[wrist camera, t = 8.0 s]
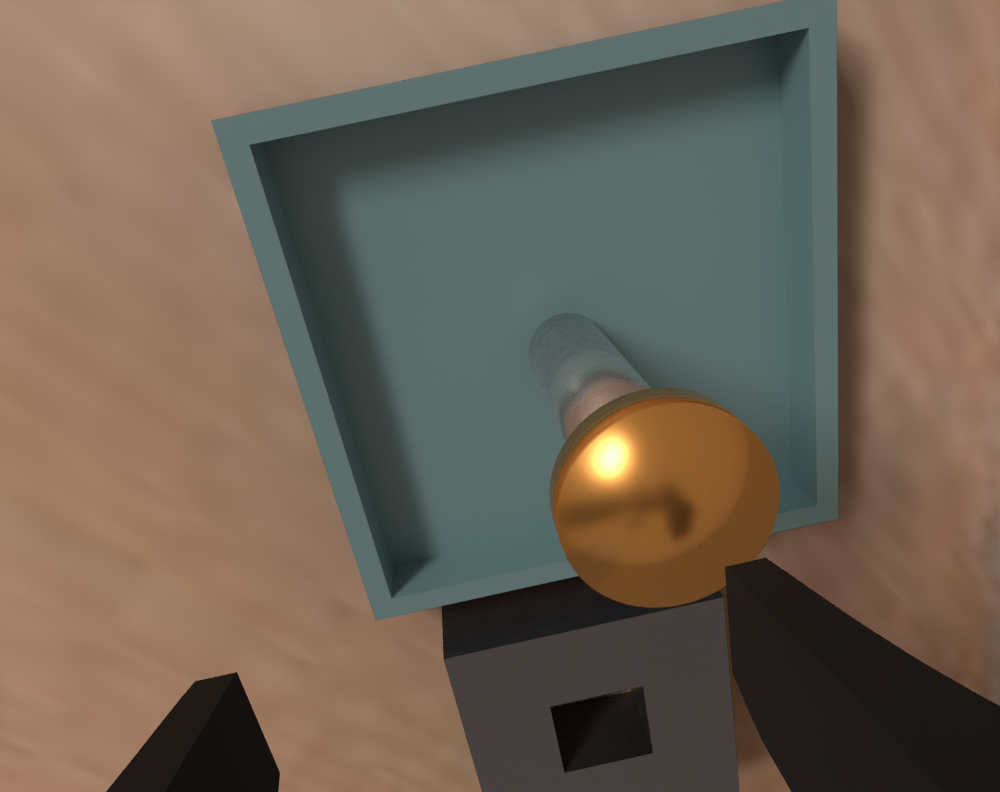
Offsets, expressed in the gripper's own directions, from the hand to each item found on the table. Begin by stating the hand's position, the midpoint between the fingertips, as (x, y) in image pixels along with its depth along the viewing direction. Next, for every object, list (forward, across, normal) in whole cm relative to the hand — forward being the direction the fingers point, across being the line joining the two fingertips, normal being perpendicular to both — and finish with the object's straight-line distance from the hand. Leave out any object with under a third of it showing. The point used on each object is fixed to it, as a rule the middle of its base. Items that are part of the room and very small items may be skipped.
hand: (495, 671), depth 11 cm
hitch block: (+10, -2, +10) cm, 15 cm away
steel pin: (+10, -3, -1) cm, 10 cm away
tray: (+10, -3, -2) cm, 11 cm away
